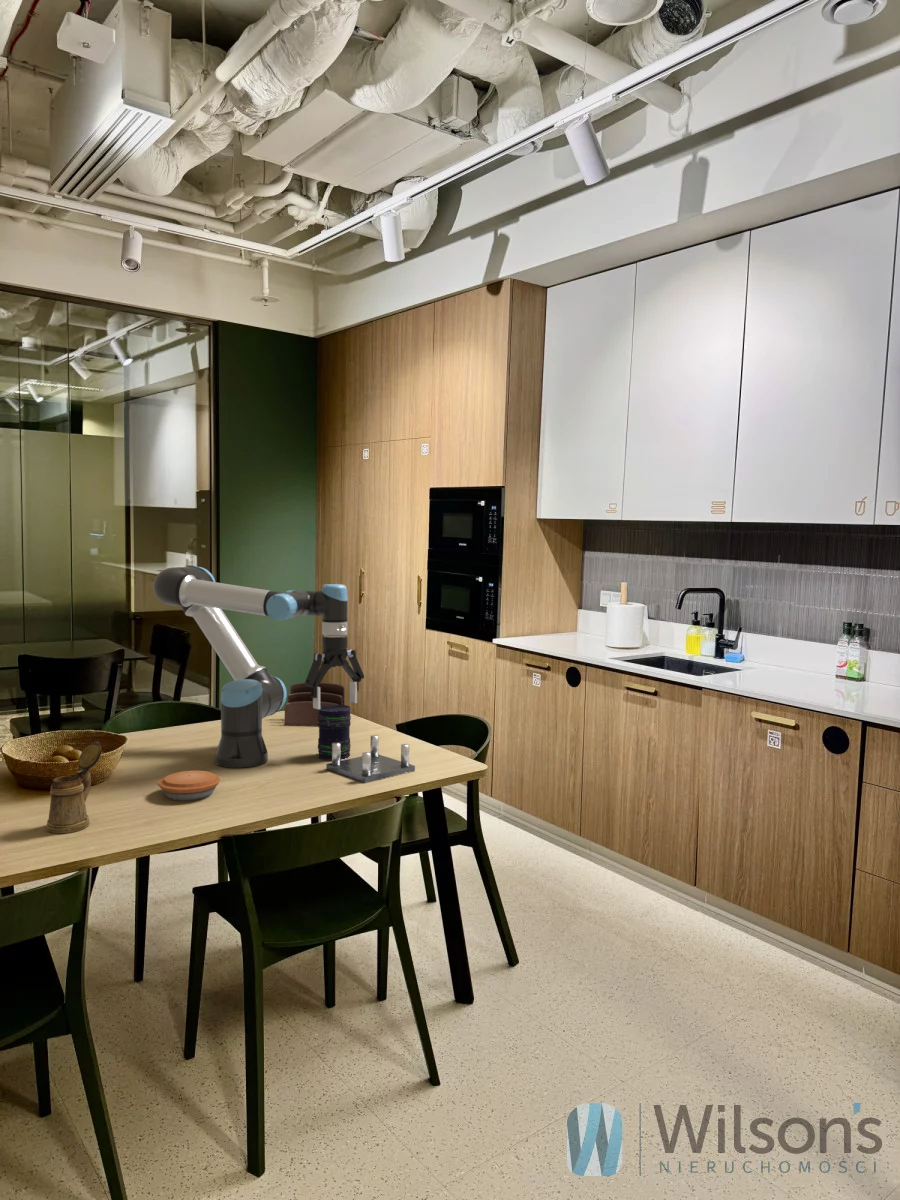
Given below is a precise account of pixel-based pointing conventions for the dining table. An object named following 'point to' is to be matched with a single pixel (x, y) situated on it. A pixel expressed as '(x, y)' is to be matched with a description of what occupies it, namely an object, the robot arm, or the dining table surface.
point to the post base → (376, 768)
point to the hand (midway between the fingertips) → (335, 705)
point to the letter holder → (310, 702)
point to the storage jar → (333, 730)
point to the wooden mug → (72, 795)
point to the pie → (189, 785)
